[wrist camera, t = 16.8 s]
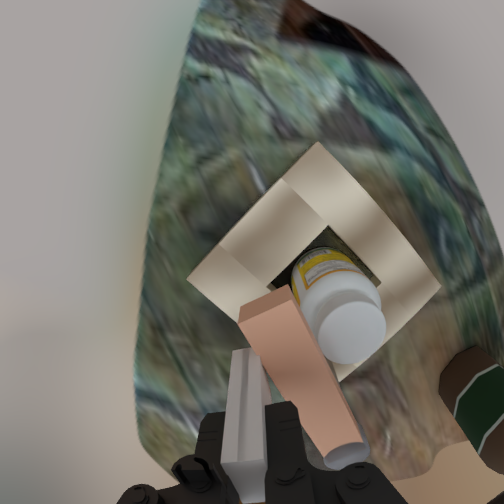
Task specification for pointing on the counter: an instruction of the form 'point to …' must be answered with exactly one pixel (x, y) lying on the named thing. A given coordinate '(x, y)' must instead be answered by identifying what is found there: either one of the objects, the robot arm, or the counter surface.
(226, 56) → the counter surface
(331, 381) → the bar
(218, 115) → the counter surface
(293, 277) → the supplement bottle
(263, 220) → the keeper board
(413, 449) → the counter surface
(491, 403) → the beer bottle
